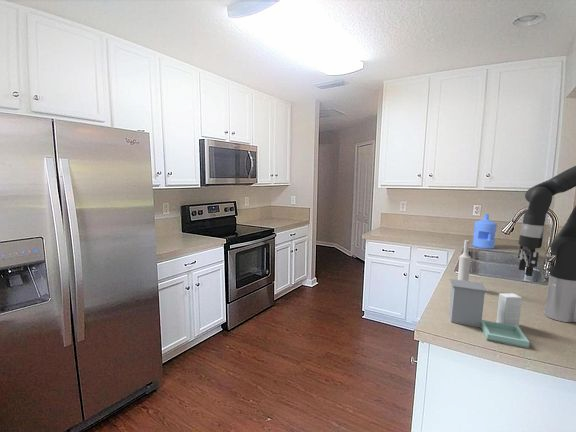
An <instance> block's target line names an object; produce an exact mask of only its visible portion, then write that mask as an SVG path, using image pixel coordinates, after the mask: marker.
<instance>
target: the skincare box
mask: <svg viewBox="0 0 576 432" xmlns="http://www.w3.org/2000/svg"><path fill="white" fill-rule="evenodd" d="M522 299H523V297H522V296H520V295H518V294H516V293H511V292H510V293H504V292H503V293H501V292H500V293H498V302H497V303H498V304H497V312H496V321H495V322H497V323H503V324H509V325H515V326H518V327H519V328H520V319H521V310H522Z"/></svg>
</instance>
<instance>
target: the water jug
mask: <svg viewBox="0 0 576 432" xmlns="http://www.w3.org/2000/svg"><path fill="white" fill-rule="evenodd" d="M489 215H490V214H488V213H484V215H483V217H484V218H482V219H479V220H476V221H475V222H474V225H473V226H474V229H473V240H472V247H475V248H476V249H477V248H478V249H485V250H492V249H495V244H496V242H495V241H496V240H495V238H496V237H495V235H496V232H497V228H498V224H497V223H496V222H494V221H493V220H491V219H489Z"/></svg>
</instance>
